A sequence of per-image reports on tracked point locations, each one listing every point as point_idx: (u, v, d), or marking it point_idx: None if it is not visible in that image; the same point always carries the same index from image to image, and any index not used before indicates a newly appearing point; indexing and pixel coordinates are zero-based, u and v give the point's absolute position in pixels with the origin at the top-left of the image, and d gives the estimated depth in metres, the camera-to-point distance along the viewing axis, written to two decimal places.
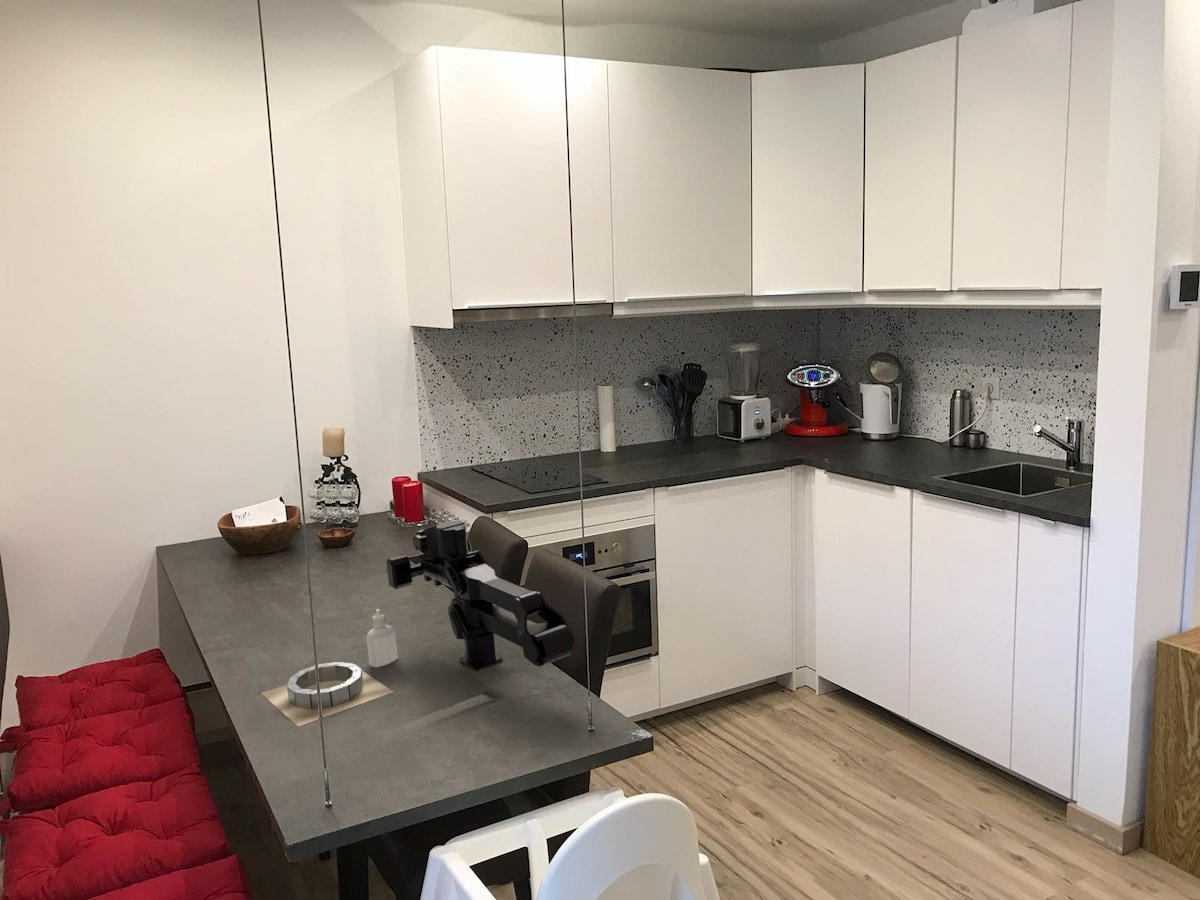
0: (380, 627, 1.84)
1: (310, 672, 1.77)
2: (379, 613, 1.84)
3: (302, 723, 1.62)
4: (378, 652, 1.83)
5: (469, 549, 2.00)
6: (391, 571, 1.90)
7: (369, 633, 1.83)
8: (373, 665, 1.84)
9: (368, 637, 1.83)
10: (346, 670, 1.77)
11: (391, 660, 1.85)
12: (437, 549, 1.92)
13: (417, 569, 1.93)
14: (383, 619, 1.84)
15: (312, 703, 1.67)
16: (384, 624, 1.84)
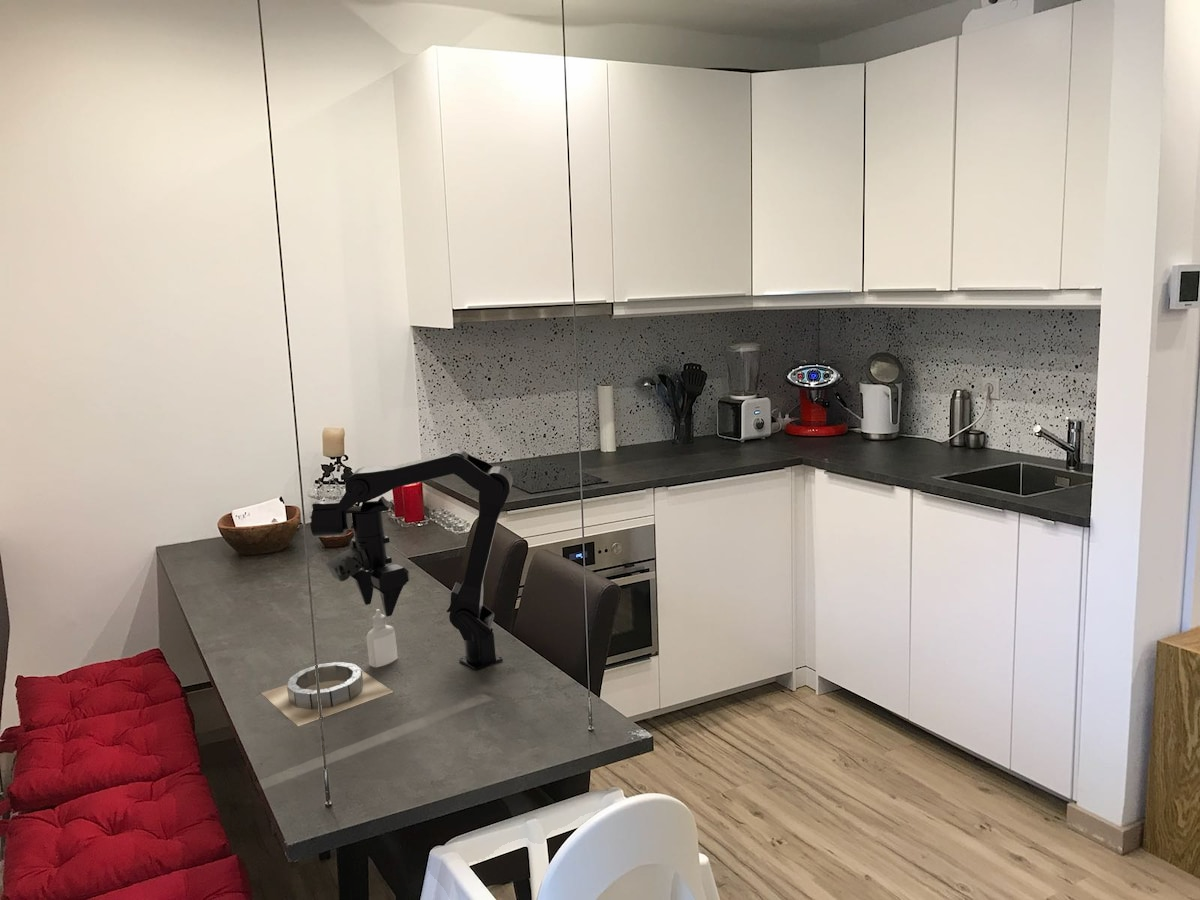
0: (380, 627, 1.84)
1: (310, 672, 1.77)
2: (379, 613, 1.84)
3: (302, 723, 1.62)
4: (378, 652, 1.83)
5: None
6: (391, 577, 1.75)
7: (369, 633, 1.83)
8: (373, 665, 1.84)
9: (368, 637, 1.83)
10: (346, 670, 1.77)
11: (391, 660, 1.85)
12: (352, 552, 1.79)
13: (382, 567, 1.79)
14: (383, 619, 1.84)
15: (312, 703, 1.67)
16: (384, 624, 1.84)
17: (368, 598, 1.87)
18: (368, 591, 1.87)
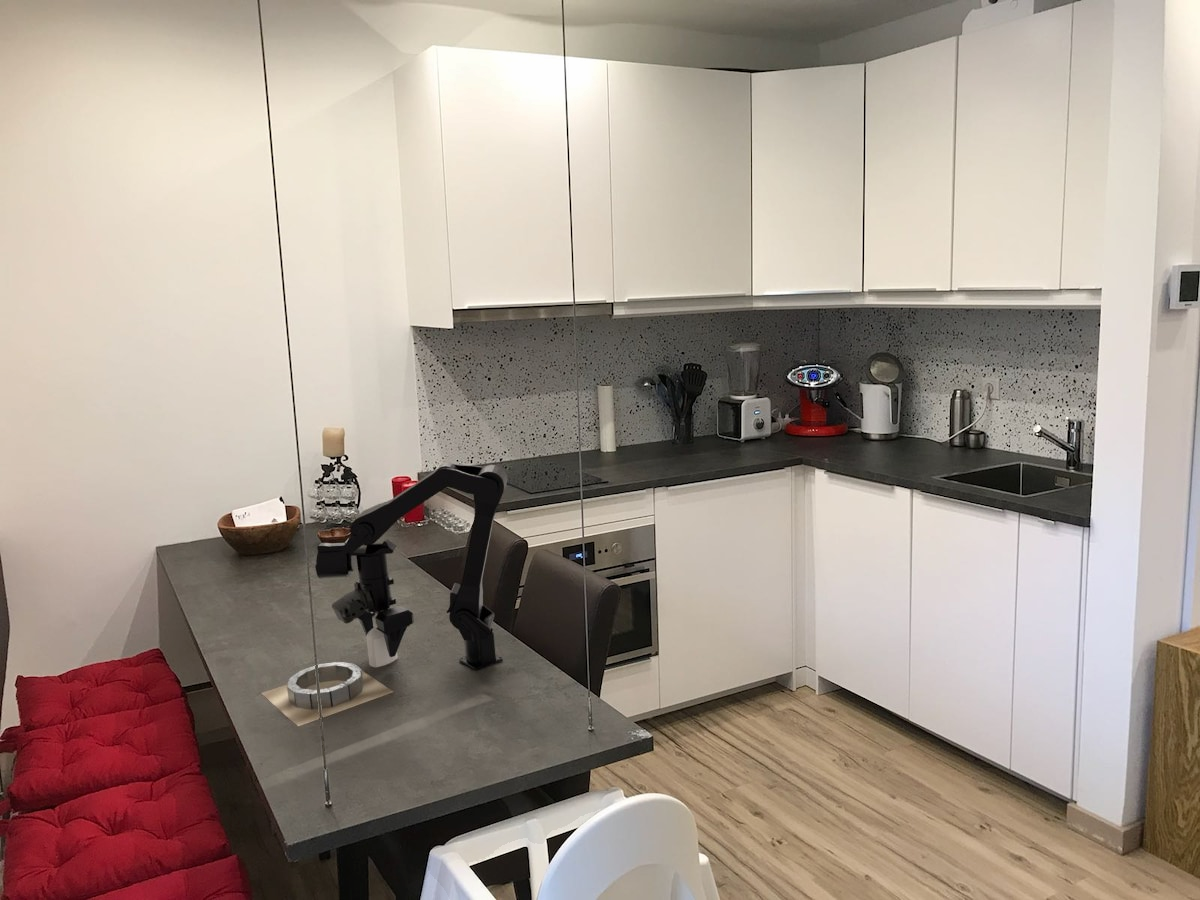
0: None
1: (310, 672, 1.77)
2: None
3: (302, 723, 1.62)
4: (378, 652, 1.83)
5: None
6: (395, 620, 1.76)
7: (369, 633, 1.83)
8: (373, 665, 1.84)
9: (368, 637, 1.83)
10: (346, 670, 1.77)
11: (391, 660, 1.85)
12: (357, 594, 1.80)
13: (386, 609, 1.81)
14: None
15: (312, 703, 1.67)
16: None
17: None
18: None
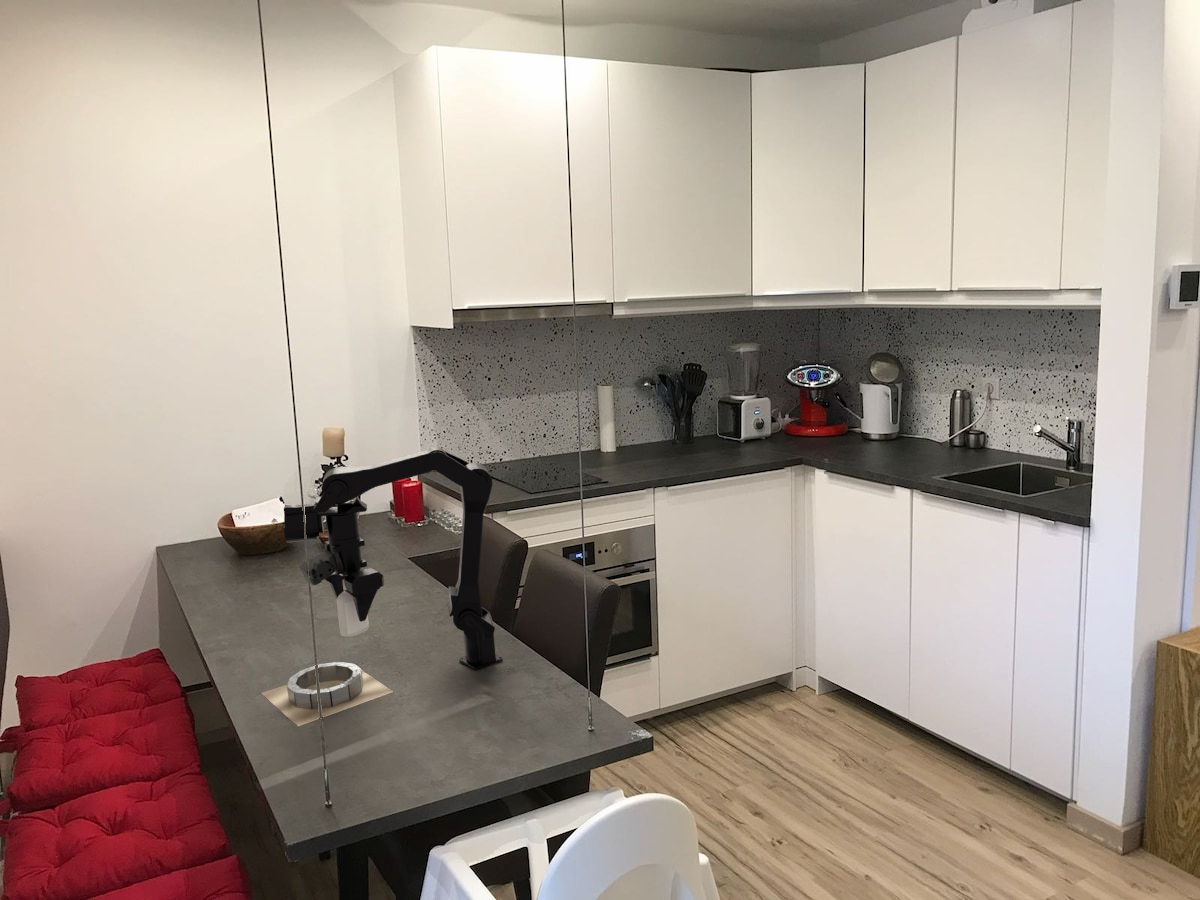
0: None
1: (310, 672, 1.77)
2: None
3: (302, 723, 1.62)
4: (349, 616, 1.76)
5: None
6: (364, 581, 1.69)
7: (339, 597, 1.76)
8: (344, 630, 1.77)
9: (338, 601, 1.76)
10: (346, 670, 1.77)
11: (362, 625, 1.79)
12: (326, 555, 1.73)
13: (356, 571, 1.74)
14: None
15: (312, 703, 1.67)
16: None
17: None
18: None
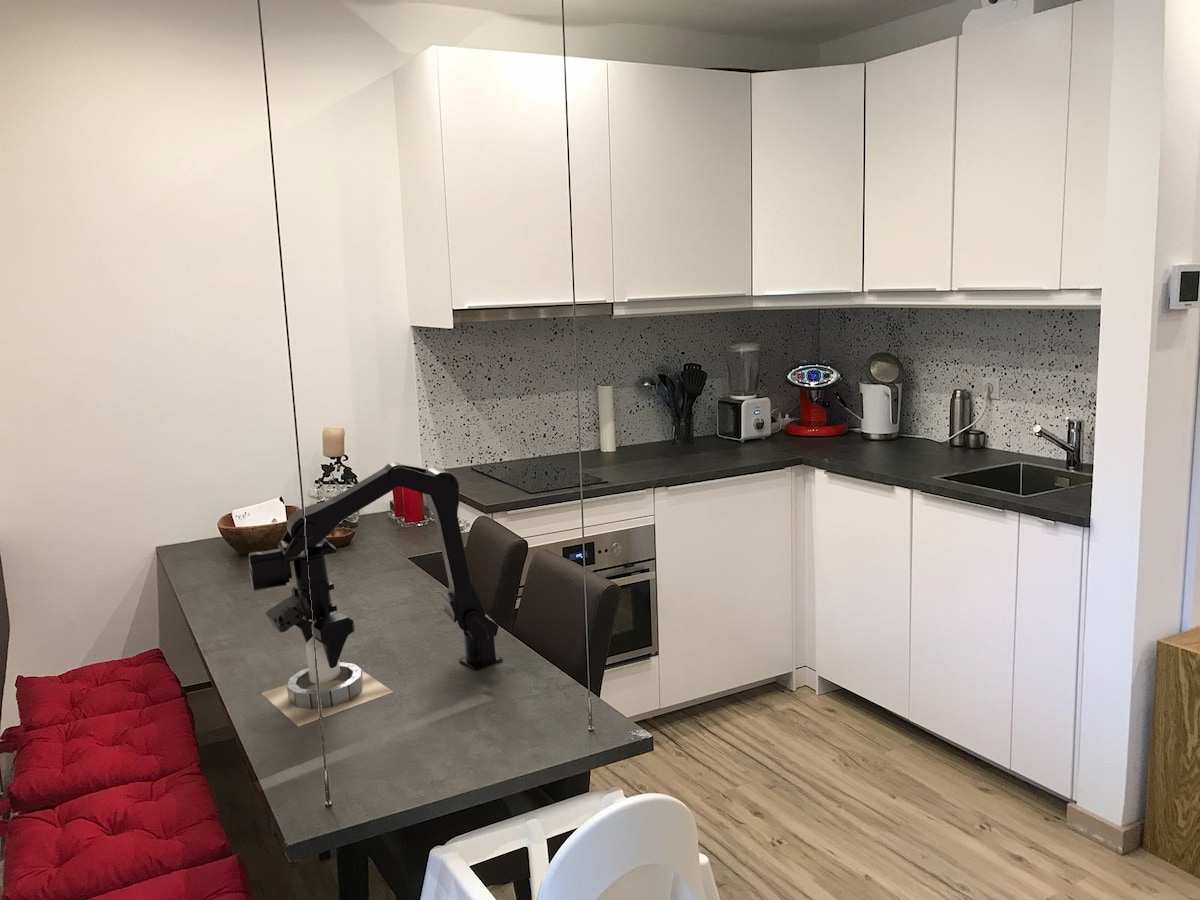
0: None
1: None
2: None
3: (302, 723, 1.62)
4: (319, 663, 1.70)
5: None
6: (334, 628, 1.63)
7: (309, 642, 1.70)
8: (314, 677, 1.70)
9: (308, 647, 1.70)
10: (346, 670, 1.77)
11: (333, 670, 1.73)
12: (294, 600, 1.67)
13: (325, 616, 1.68)
14: None
15: (312, 703, 1.67)
16: None
17: None
18: None
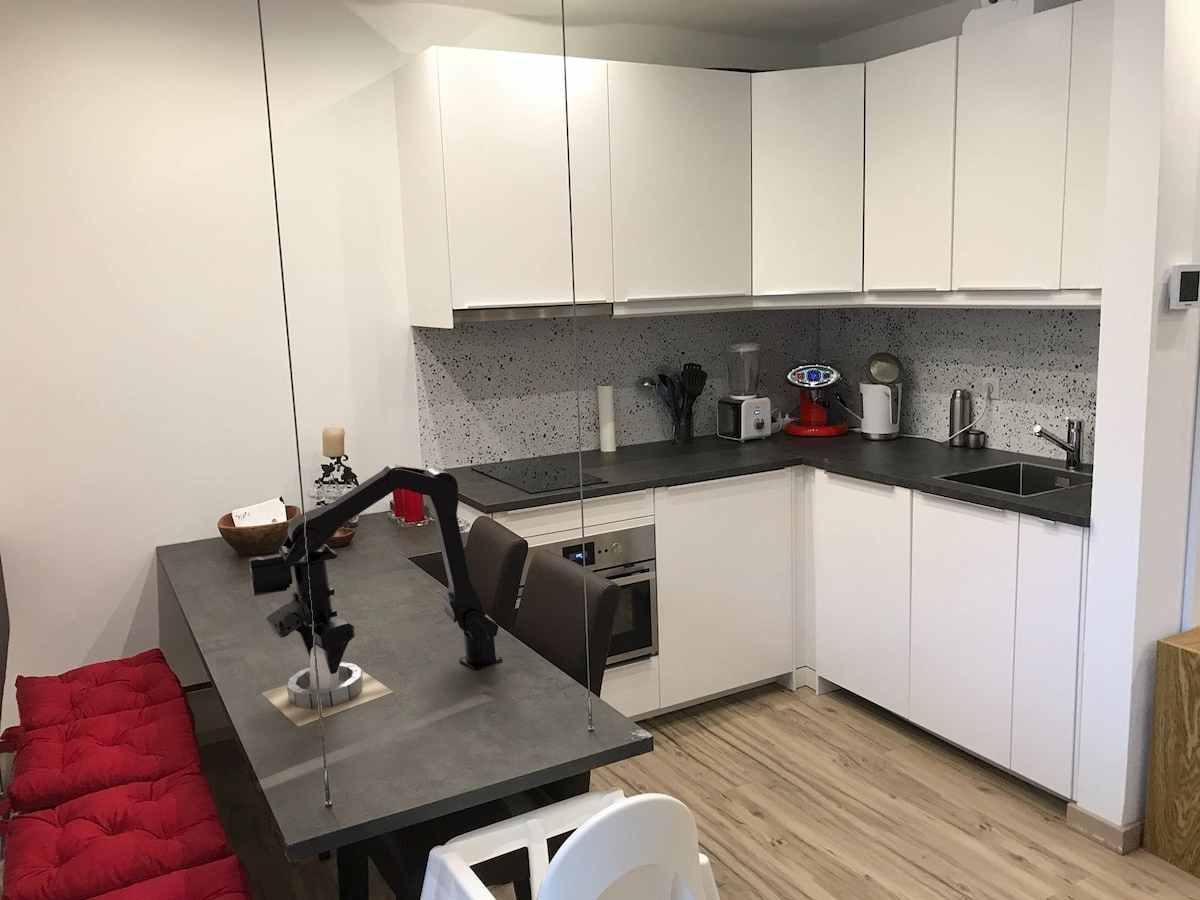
0: None
1: None
2: None
3: (302, 723, 1.62)
4: (311, 668, 1.74)
5: None
6: (334, 634, 1.63)
7: None
8: None
9: None
10: (346, 670, 1.77)
11: (320, 684, 1.72)
12: (294, 605, 1.67)
13: (326, 622, 1.68)
14: None
15: (312, 703, 1.67)
16: None
17: None
18: None
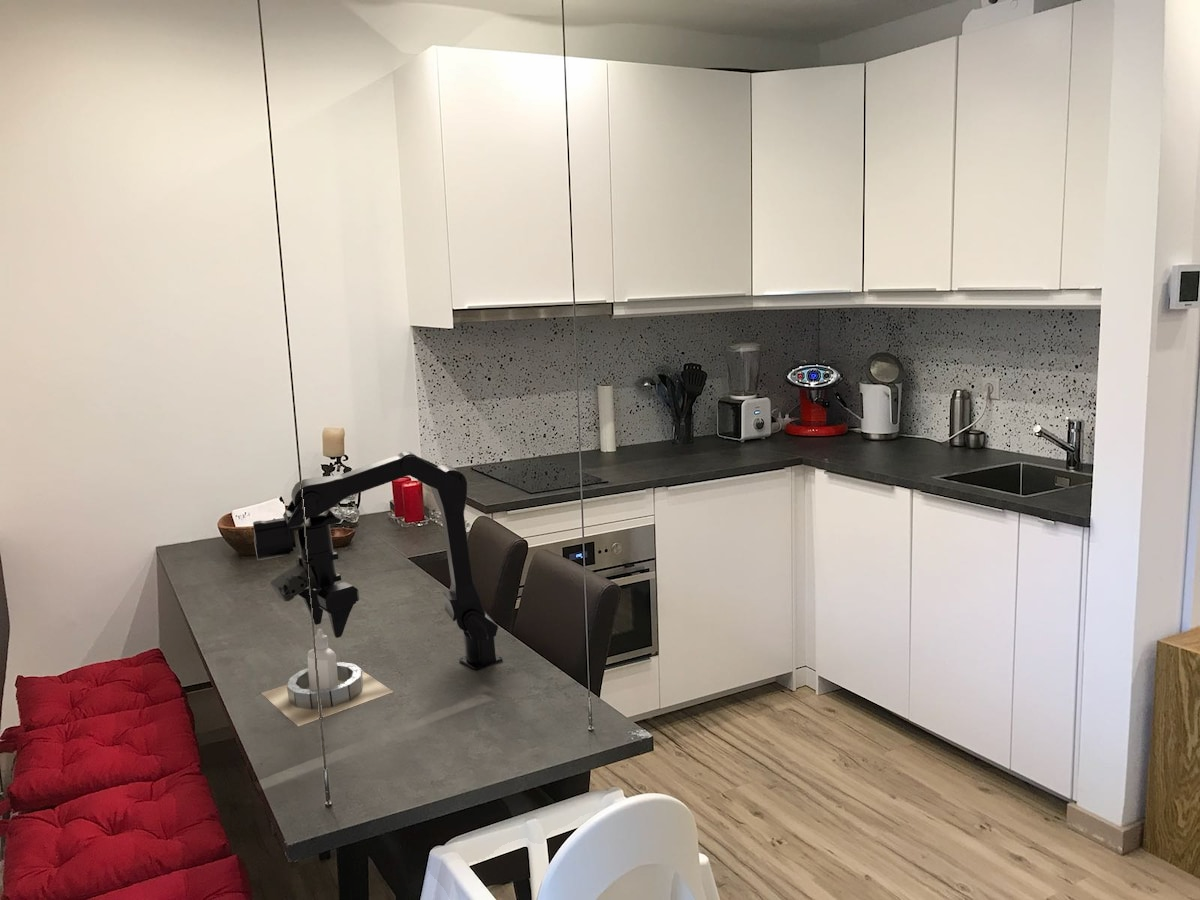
0: None
1: None
2: (318, 633, 1.72)
3: (302, 723, 1.62)
4: (309, 671, 1.73)
5: None
6: (339, 596, 1.64)
7: None
8: None
9: None
10: (346, 670, 1.77)
11: None
12: (298, 570, 1.68)
13: (330, 585, 1.68)
14: (317, 641, 1.71)
15: (312, 703, 1.67)
16: (318, 647, 1.71)
17: (318, 618, 1.76)
18: (318, 610, 1.76)
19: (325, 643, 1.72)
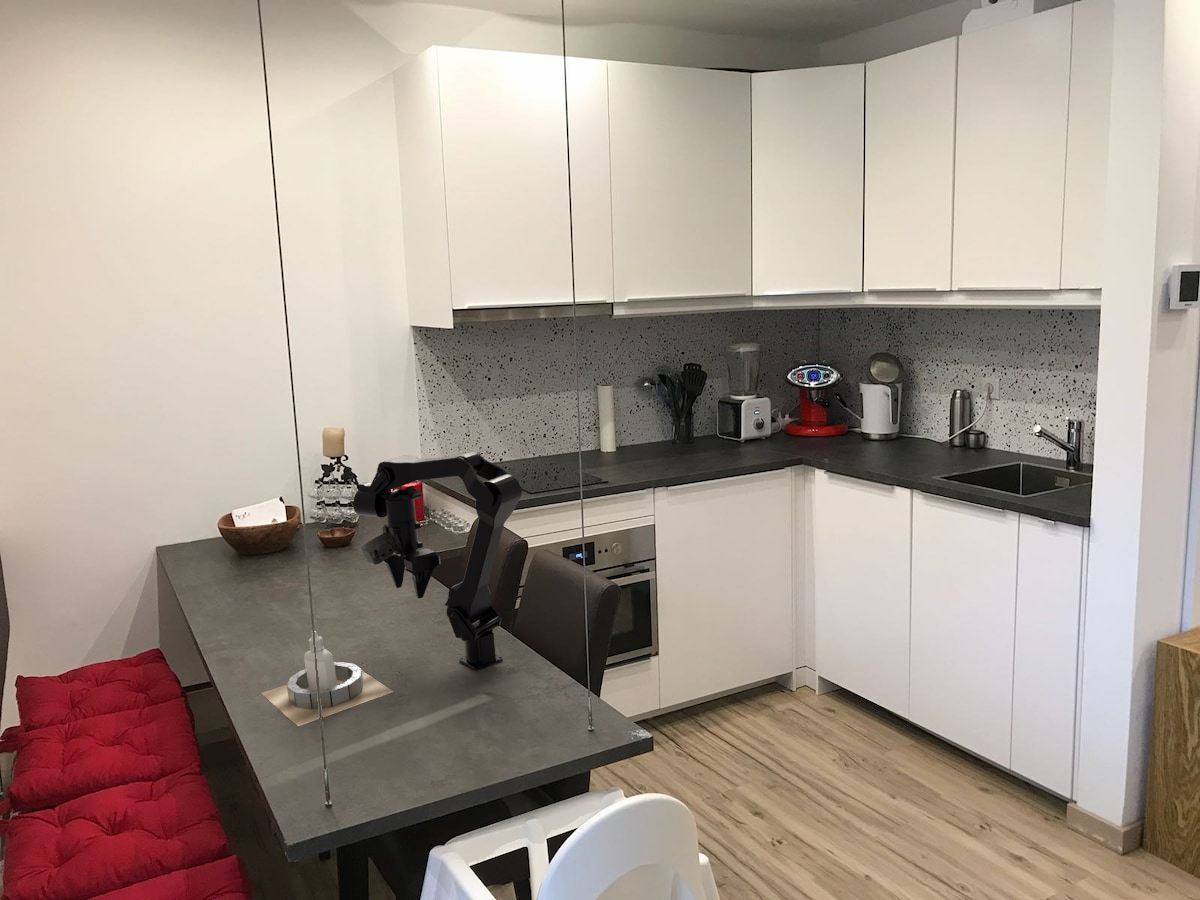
0: (310, 650, 1.71)
1: None
2: None
3: (302, 723, 1.62)
4: (307, 673, 1.73)
5: None
6: (423, 560, 1.83)
7: None
8: None
9: None
10: (346, 670, 1.77)
11: None
12: (386, 537, 1.87)
13: (413, 551, 1.88)
14: (312, 643, 1.70)
15: (312, 703, 1.67)
16: None
17: (399, 582, 1.96)
18: (399, 575, 1.96)
19: (321, 645, 1.71)
